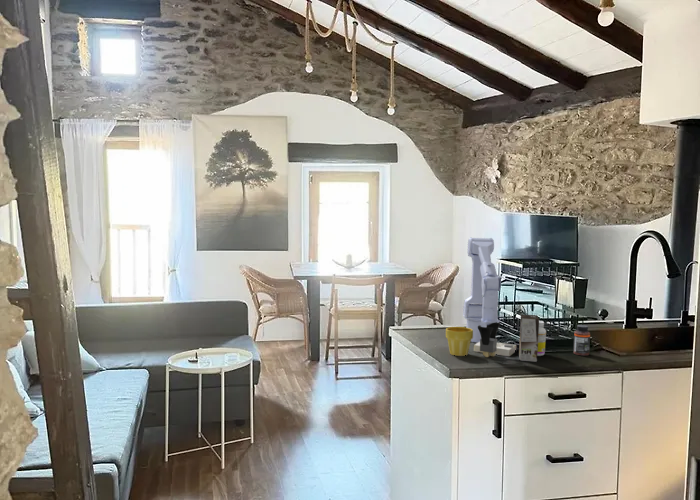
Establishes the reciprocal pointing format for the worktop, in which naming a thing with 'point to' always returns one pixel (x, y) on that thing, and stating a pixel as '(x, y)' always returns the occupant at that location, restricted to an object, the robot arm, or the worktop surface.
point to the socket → (499, 349)
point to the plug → (489, 347)
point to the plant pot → (459, 340)
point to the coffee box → (528, 338)
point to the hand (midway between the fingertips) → (488, 343)
